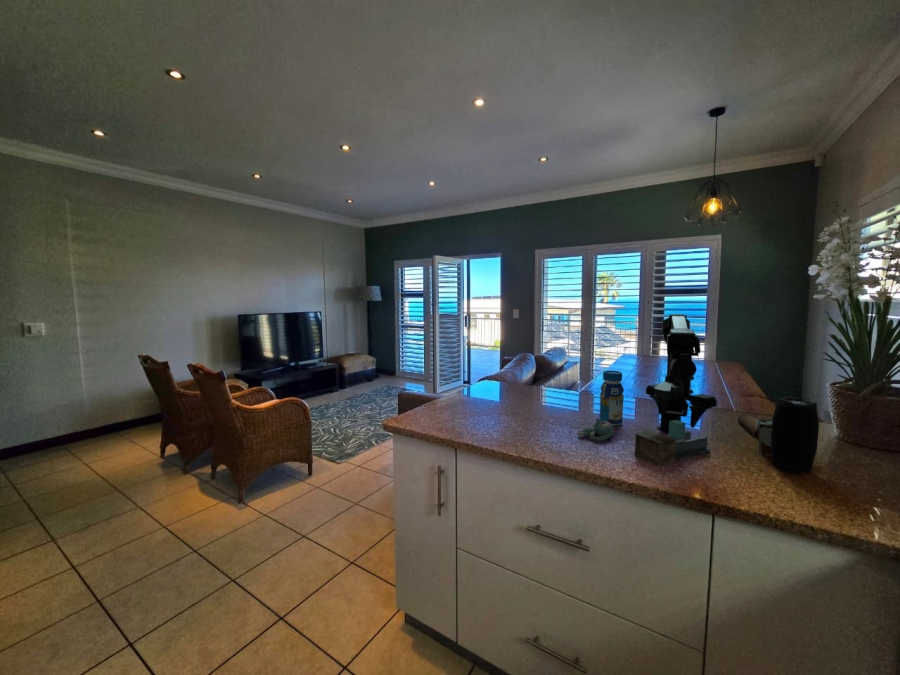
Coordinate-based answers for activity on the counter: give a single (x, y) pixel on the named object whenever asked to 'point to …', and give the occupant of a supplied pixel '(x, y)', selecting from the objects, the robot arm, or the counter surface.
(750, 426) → the sunglasses case
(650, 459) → the socket block
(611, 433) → the stuffed animal
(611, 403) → the beverage bottle
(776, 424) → the portable speaker
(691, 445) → the sleeve channel
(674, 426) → the teal angled piece
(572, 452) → the counter surface
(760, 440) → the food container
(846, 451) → the counter surface
